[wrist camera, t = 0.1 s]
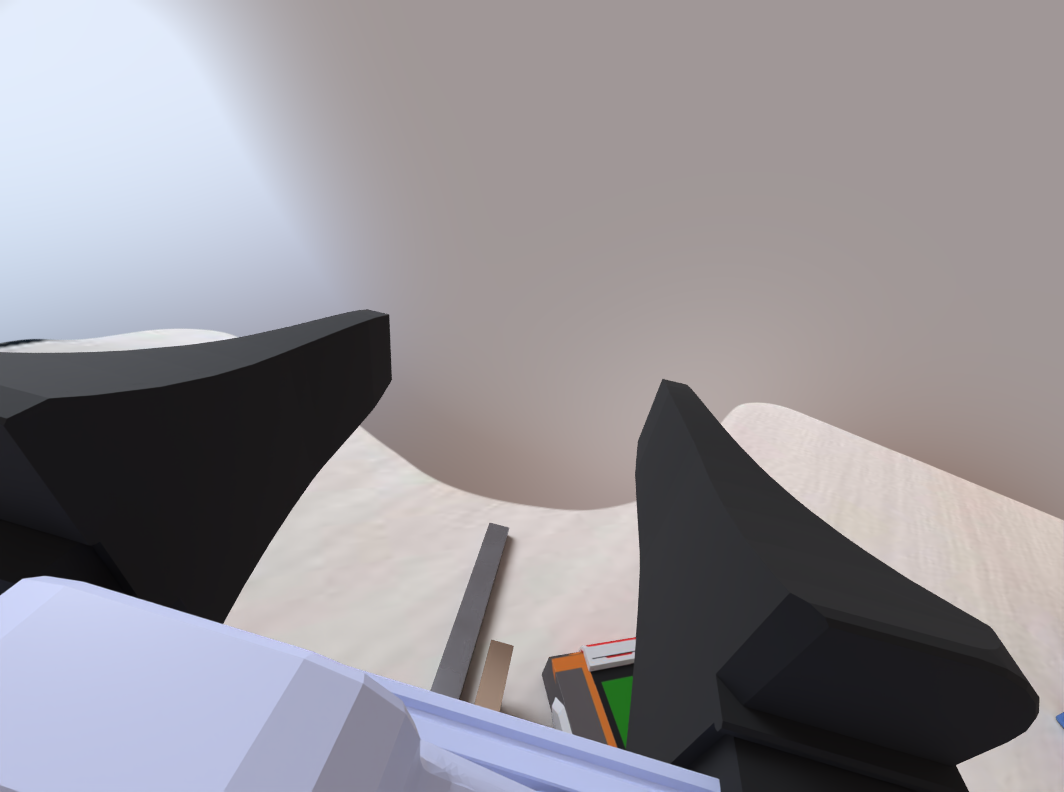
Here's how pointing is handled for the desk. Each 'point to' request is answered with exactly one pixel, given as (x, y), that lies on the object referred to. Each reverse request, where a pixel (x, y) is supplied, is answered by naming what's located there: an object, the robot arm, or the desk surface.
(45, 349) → the desk surface
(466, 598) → the track
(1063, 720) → the ink cartridge box
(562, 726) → the electronic device
